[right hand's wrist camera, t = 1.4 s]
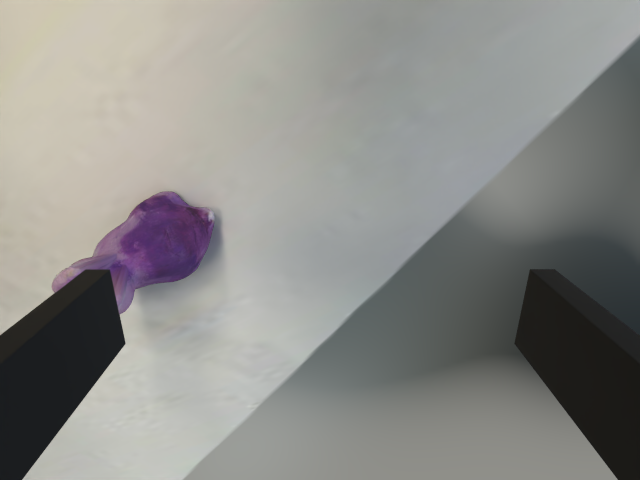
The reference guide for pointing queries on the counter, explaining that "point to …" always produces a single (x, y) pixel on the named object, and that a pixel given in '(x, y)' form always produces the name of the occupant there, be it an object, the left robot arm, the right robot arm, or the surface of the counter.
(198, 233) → the figurine
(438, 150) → the counter surface
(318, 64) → the counter surface
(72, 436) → the counter surface
